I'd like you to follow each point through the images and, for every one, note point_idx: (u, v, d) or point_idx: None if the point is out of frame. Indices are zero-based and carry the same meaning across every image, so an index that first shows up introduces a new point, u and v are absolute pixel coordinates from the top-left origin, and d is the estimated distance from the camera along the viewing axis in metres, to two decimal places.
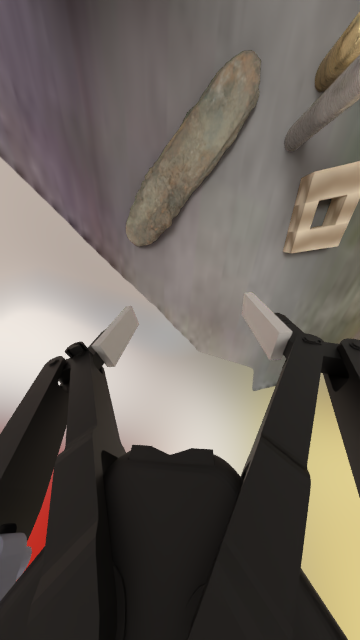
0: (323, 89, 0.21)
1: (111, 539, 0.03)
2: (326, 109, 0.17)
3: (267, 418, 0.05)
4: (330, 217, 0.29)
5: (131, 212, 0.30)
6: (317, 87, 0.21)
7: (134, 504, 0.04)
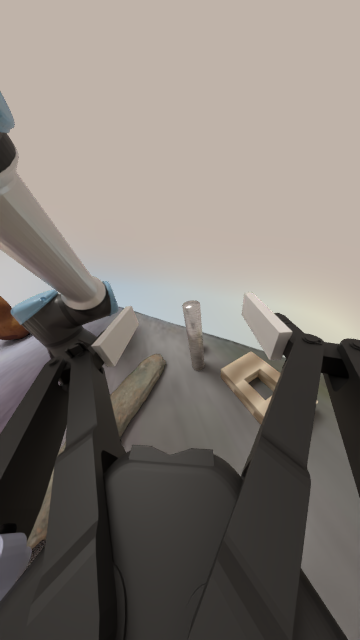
0: None
1: (111, 539, 0.03)
2: (192, 347, 0.30)
3: (267, 418, 0.05)
4: (272, 385, 0.28)
5: None
6: None
7: (134, 504, 0.04)
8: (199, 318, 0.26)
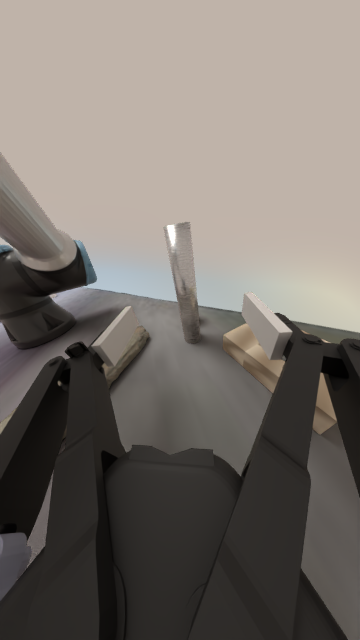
0: None
1: (111, 539, 0.03)
2: (182, 303, 0.21)
3: (267, 418, 0.05)
4: None
5: None
6: None
7: (134, 504, 0.04)
8: (189, 248, 0.17)
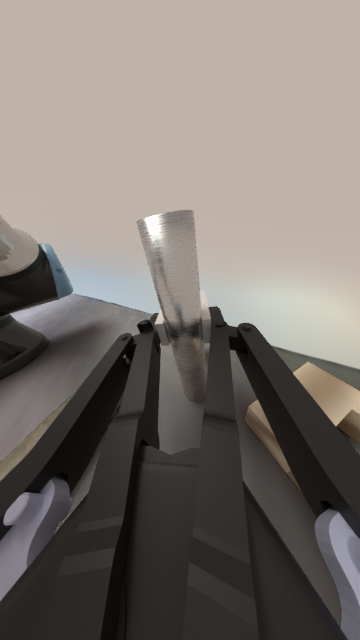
0: None
1: (127, 553, 0.03)
2: (178, 354, 0.13)
3: (206, 398, 0.06)
4: None
5: None
6: None
7: (134, 504, 0.04)
8: (193, 267, 0.08)
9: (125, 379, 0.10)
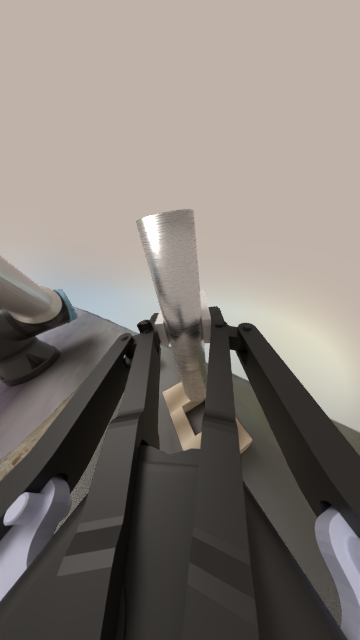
0: None
1: (127, 553, 0.03)
2: (178, 354, 0.12)
3: (206, 398, 0.06)
4: None
5: None
6: None
7: (134, 504, 0.04)
8: (193, 266, 0.08)
9: (125, 379, 0.10)
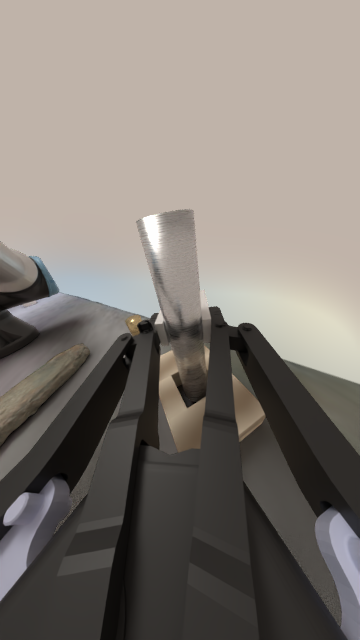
0: None
1: (127, 553, 0.03)
2: (178, 354, 0.12)
3: (206, 398, 0.06)
4: None
5: None
6: None
7: (134, 504, 0.04)
8: (193, 266, 0.08)
9: (125, 379, 0.10)
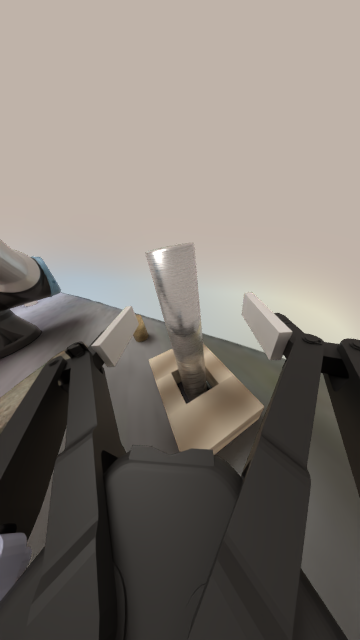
0: (142, 340, 0.32)
1: (111, 539, 0.03)
2: (180, 361, 0.14)
3: (267, 418, 0.05)
4: (212, 382, 0.19)
5: None
6: (138, 341, 0.32)
7: (134, 504, 0.04)
8: (193, 288, 0.10)
9: (67, 403, 0.09)
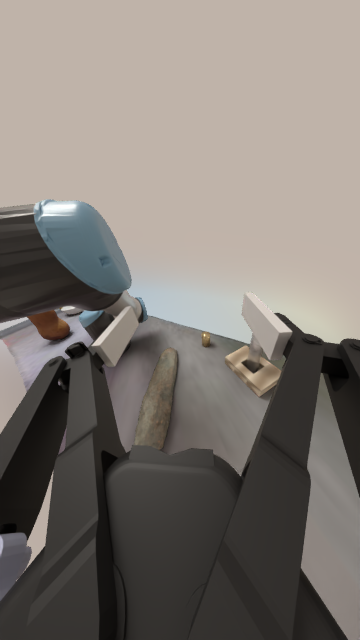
0: (208, 346, 0.56)
1: (111, 539, 0.03)
2: (254, 357, 0.38)
3: (267, 418, 0.05)
4: (259, 366, 0.43)
5: (137, 431, 0.33)
6: (206, 346, 0.56)
7: (134, 504, 0.04)
8: None
9: (67, 403, 0.09)
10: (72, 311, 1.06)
